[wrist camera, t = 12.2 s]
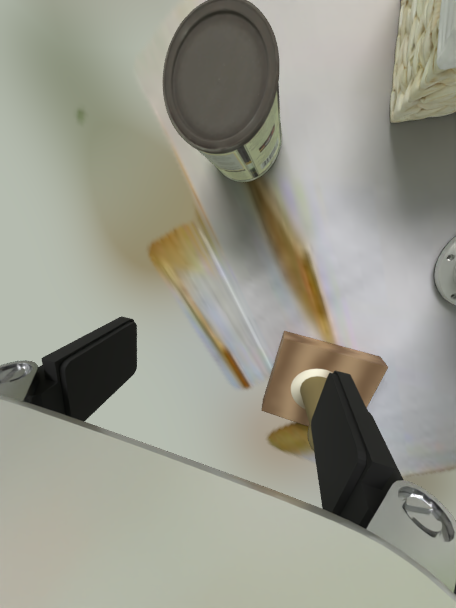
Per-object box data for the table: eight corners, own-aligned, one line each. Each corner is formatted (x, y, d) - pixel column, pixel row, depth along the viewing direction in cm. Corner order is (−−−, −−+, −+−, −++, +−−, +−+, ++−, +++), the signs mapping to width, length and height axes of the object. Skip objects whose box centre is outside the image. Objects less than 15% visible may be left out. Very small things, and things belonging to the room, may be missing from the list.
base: (380, 356, 36) (388, 367, 33) (344, 426, 42) (349, 440, 39) (284, 330, 39) (284, 338, 36) (263, 399, 44) (261, 410, 41)
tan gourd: (325, 411, 38) (339, 476, 28) (293, 394, 39) (296, 452, 29) (345, 387, 36) (369, 448, 26) (311, 370, 36) (321, 423, 26)
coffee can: (215, 95, 30) (165, -5, 18) (289, 100, 29) (294, -8, 16) (206, 178, 34) (159, 145, 21) (272, 187, 32) (263, 157, 19)
